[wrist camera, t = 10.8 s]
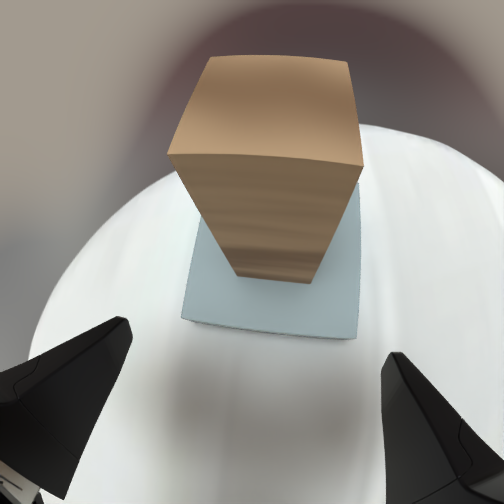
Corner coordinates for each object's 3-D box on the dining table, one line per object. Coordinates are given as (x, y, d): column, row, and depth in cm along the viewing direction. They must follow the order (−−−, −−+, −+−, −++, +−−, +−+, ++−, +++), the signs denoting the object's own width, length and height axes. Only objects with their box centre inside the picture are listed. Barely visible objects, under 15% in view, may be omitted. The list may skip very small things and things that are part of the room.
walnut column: (310, 284, 18) (364, 166, 6) (237, 276, 19) (167, 153, 7) (314, 217, 20) (346, 61, 8) (247, 211, 20) (210, 57, 8)
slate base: (345, 339, 20) (356, 338, 17) (193, 321, 21) (180, 317, 18) (350, 200, 23) (358, 182, 20) (219, 189, 25) (212, 170, 22)
